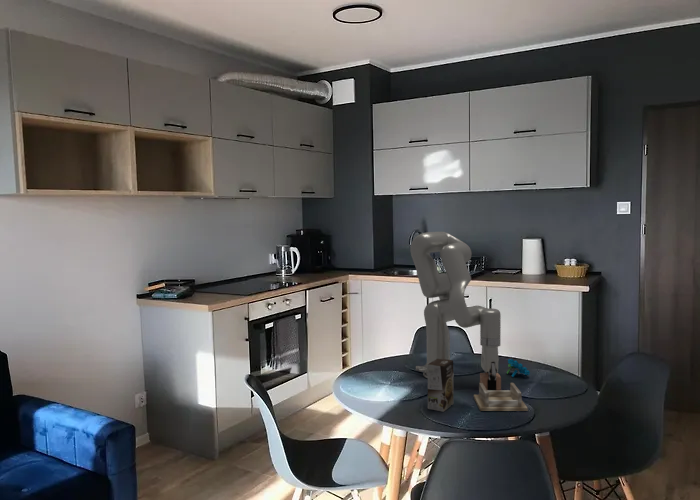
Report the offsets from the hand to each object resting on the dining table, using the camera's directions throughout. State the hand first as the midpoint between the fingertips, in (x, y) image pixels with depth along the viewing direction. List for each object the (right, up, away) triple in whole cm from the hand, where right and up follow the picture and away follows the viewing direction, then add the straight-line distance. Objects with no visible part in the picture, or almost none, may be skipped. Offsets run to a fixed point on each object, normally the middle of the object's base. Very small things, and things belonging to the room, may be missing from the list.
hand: (490, 387), depth 219 cm
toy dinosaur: (+15, 0, +16) cm, 22 cm away
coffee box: (-22, -3, -18) cm, 28 cm away
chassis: (-1, -2, -17) cm, 17 cm away
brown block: (0, -1, 0) cm, 1 cm away
